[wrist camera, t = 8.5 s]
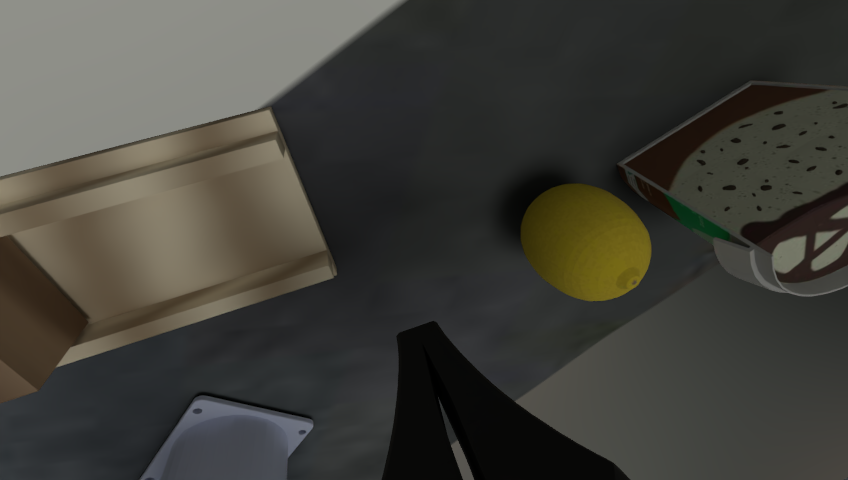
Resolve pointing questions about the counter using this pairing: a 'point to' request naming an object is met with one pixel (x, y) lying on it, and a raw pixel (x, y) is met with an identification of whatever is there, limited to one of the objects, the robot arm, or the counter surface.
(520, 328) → the counter surface
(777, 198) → the food container
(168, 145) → the track
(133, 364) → the counter surface
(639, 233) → the lemon
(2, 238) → the block
